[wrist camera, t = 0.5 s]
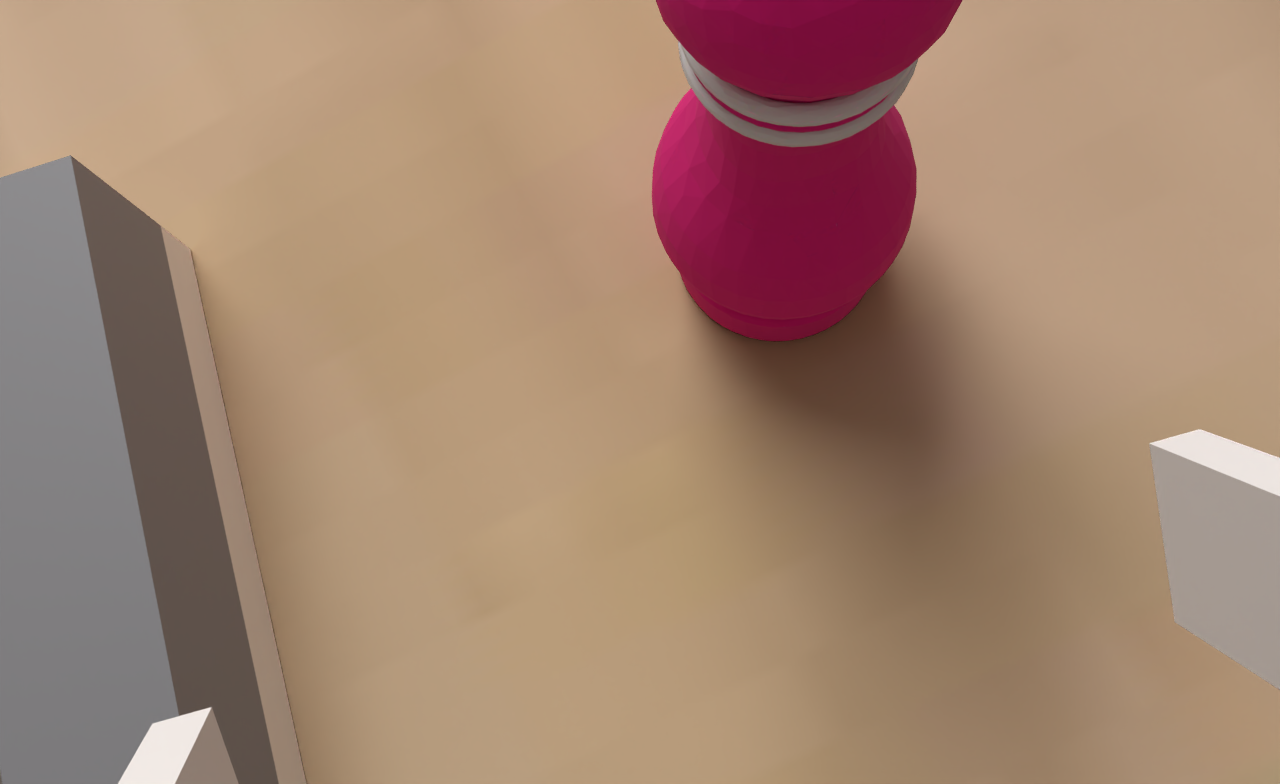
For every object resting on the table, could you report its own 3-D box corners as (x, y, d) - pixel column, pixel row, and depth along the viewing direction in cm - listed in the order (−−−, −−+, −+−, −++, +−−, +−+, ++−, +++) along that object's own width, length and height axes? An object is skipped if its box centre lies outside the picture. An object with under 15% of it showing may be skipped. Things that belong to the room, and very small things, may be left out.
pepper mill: (696, 385, 35) (653, 35, 16) (635, 175, 37) (528, -371, 18) (925, 321, 35) (1163, -111, 16) (852, 114, 37) (986, -503, 18)
